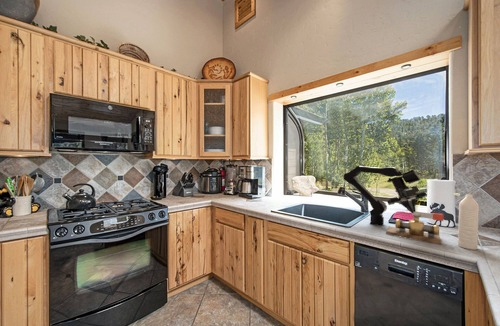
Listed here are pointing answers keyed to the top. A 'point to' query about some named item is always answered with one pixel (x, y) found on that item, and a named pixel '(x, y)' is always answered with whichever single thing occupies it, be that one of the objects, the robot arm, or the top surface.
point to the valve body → (417, 227)
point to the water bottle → (468, 222)
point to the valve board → (423, 238)
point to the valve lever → (429, 215)
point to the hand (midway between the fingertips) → (414, 213)
